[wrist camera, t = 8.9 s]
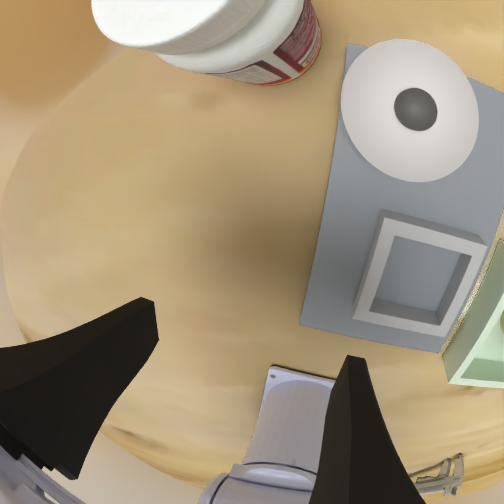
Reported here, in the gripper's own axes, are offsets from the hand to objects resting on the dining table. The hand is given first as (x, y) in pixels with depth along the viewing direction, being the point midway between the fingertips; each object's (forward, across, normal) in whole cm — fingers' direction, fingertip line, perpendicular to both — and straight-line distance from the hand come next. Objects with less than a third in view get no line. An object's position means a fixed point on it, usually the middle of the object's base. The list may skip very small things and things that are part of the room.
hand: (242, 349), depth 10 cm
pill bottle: (+11, +3, -12) cm, 16 cm away
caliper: (+11, -22, +32) cm, 40 cm away
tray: (+10, -19, +2) cm, 22 cm away
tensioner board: (+10, -7, -3) cm, 13 cm away
